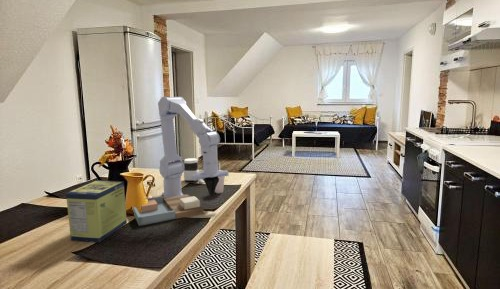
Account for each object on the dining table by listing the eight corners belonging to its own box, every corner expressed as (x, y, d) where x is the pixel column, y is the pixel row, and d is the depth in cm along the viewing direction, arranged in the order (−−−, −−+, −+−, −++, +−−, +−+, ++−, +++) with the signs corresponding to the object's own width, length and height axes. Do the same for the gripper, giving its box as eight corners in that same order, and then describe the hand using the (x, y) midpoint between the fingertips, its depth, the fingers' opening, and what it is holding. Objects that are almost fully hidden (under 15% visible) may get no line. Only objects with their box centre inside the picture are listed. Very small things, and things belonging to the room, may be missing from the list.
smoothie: (223, 194, 143) (223, 164, 140) (210, 193, 144) (209, 163, 142) (227, 190, 149) (226, 161, 147) (214, 189, 150) (213, 160, 148)
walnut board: (163, 202, 133) (163, 198, 132) (187, 198, 137) (187, 194, 137) (176, 218, 115) (175, 213, 115) (203, 213, 120) (203, 208, 120)
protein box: (127, 223, 112) (124, 180, 110) (99, 243, 97) (95, 194, 94) (101, 221, 114) (97, 179, 111) (69, 240, 99) (64, 193, 96)
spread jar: (185, 179, 170) (184, 157, 168) (206, 178, 171) (205, 157, 169) (182, 185, 158) (181, 162, 156) (205, 184, 159) (204, 161, 158)
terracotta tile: (139, 207, 125) (138, 201, 125) (154, 205, 128) (154, 199, 128) (141, 212, 120) (141, 206, 120) (157, 209, 123) (157, 203, 123)
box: (130, 208, 127) (130, 201, 126) (163, 202, 133) (162, 195, 132) (139, 226, 109) (138, 217, 109) (175, 218, 115) (175, 211, 115)
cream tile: (180, 204, 124) (180, 198, 124) (194, 202, 127) (194, 196, 127) (184, 209, 119) (184, 203, 119) (199, 206, 122) (199, 200, 121)
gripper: (195, 166, 118) (197, 201, 120) (231, 161, 124) (232, 195, 126) (190, 162, 124) (191, 196, 126) (224, 158, 131) (225, 190, 133)
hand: (211, 195), depth 127 cm, fingers closed
